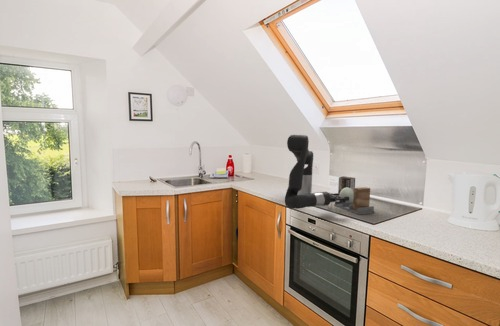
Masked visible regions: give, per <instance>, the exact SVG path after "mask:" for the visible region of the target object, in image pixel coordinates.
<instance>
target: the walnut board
mask: <svg viewBox="0 0 500 326" xmlns="http://www.w3.org/2000/svg"><path fill="white" fill-rule="evenodd" d="M370 200H371V187H367V186H365V187H364V186H363V187H355V188H354V195H353V210H354V211H357V208H361V207H369V206H370Z"/></svg>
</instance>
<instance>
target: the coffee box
mask: <svg viewBox="0 0 500 326" xmlns="http://www.w3.org/2000/svg"><path fill="white" fill-rule="evenodd" d="M337 186H338V187H337V188H338V190H337V191H338V192H337V193H338V194H340V192H341V190H342V189H343V188H346V187H348V188H351V189H352V190H353V192H354V188H356V177H353V176H352V177H351V176H340V177H338V185H337ZM352 202H353V201H352Z"/></svg>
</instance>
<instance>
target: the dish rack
mask: <svg viewBox="0 0 500 326" xmlns="http://www.w3.org/2000/svg"><path fill="white" fill-rule="evenodd" d="M333 206H334V207H337V208H340V209H342V210H345V211H347V212H351V213H353V214H356V215H366V214H372V213H373V214H374V213H375V210H374V209H375V206H374V205H369V207H361V208H357V211H354V210H353V202H345V203H336V202H334V204H333Z"/></svg>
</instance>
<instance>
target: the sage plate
mask: <svg viewBox="0 0 500 326" xmlns="http://www.w3.org/2000/svg"><path fill="white" fill-rule="evenodd" d="M353 195H354V192H353V190H352V189H351V188H348V187H346V188H343V189H342V190H341V192H340V194H339V196H340V197H349V201H345V202H352V201H353Z"/></svg>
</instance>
